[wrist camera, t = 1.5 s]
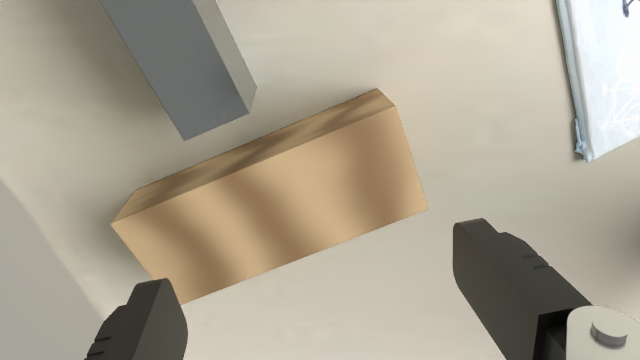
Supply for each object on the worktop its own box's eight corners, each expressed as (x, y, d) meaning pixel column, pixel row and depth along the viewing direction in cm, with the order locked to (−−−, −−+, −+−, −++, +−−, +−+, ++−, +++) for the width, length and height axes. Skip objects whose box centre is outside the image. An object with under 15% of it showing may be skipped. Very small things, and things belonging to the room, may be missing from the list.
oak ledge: (377, 88, 28) (395, 105, 24) (407, 178, 32) (428, 209, 27) (135, 190, 30) (109, 224, 25) (189, 265, 33) (174, 307, 29)
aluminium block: (165, -105, 22) (119, -145, 16) (256, 86, 28) (249, 113, 21) (105, -75, 23) (37, -103, 16) (206, 108, 28) (184, 141, 22)
